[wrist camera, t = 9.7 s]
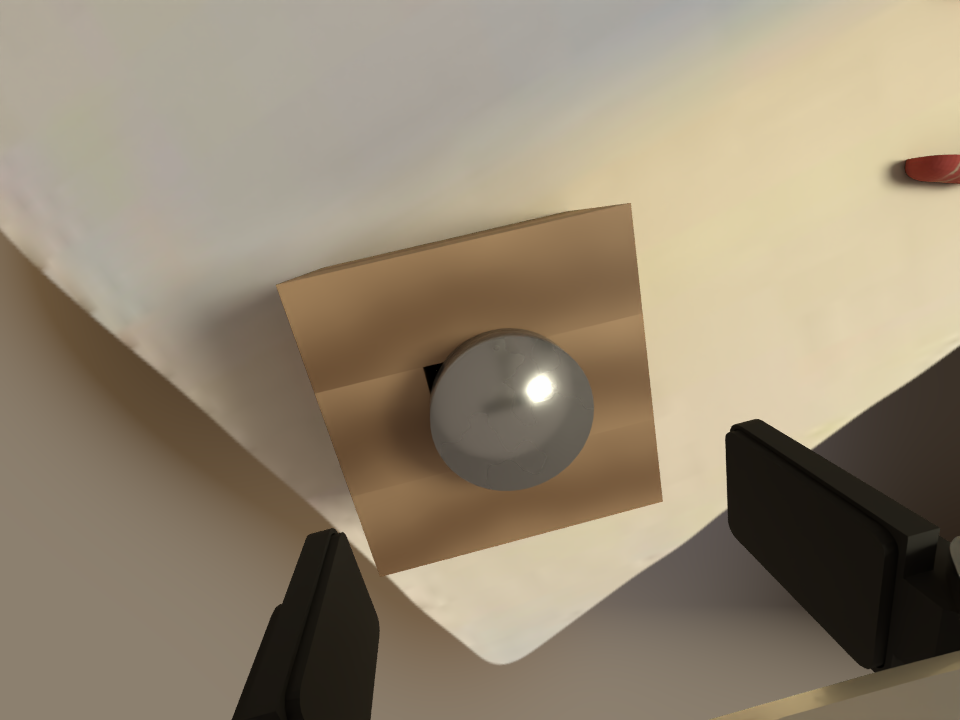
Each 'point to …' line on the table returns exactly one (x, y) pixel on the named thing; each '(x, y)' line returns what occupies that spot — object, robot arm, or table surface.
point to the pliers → (934, 168)
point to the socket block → (436, 334)
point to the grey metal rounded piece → (510, 409)
